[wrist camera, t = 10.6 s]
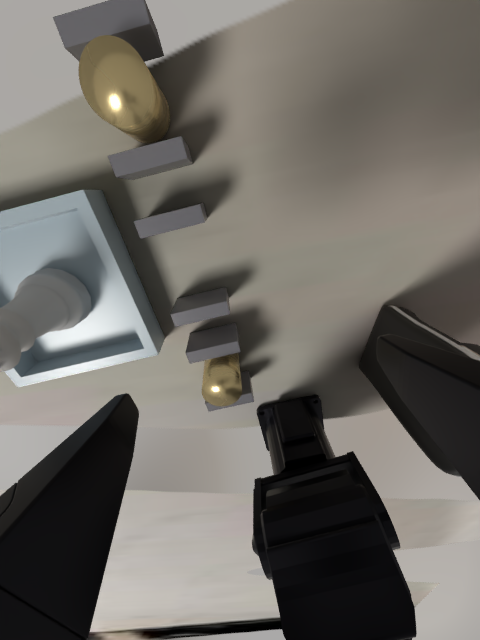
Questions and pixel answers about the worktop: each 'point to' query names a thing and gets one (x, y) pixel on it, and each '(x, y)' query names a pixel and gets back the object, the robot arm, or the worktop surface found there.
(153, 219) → the grey small pieces
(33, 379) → the tray
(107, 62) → the brass peg
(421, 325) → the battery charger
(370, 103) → the worktop surface
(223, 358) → the brass peg
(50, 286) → the rook chess piece
